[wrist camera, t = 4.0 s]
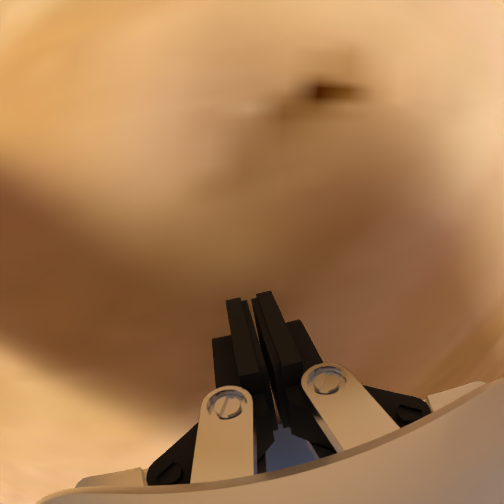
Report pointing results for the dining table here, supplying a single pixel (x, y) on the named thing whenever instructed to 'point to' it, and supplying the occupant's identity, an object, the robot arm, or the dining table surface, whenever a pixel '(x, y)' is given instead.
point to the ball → (287, 450)
